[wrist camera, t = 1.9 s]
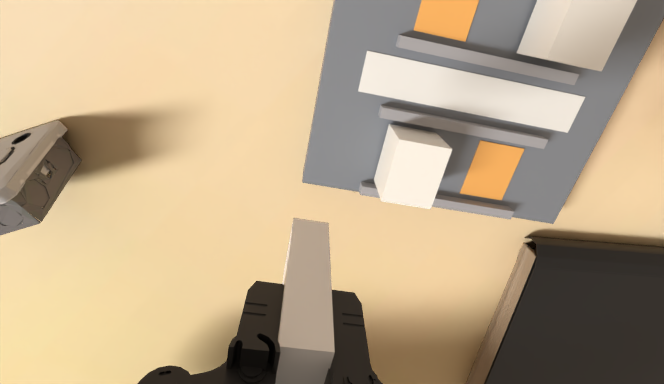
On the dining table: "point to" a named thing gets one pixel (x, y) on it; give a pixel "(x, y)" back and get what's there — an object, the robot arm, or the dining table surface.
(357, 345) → the robot arm
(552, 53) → the outer tab
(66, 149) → the electrical switch
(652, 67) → the dining table surface
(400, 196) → the inner tab
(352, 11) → the switch panel
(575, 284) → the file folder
